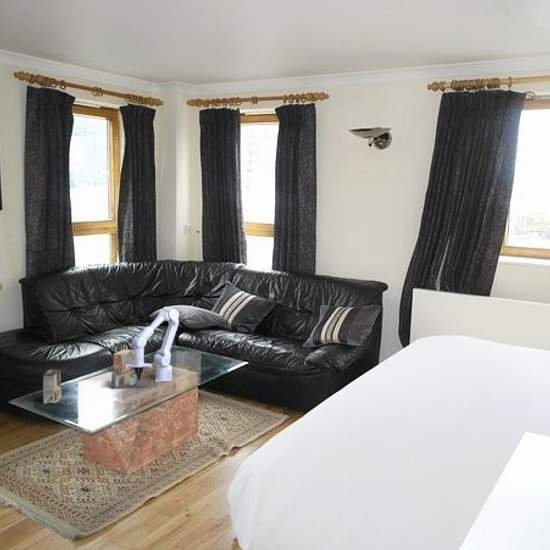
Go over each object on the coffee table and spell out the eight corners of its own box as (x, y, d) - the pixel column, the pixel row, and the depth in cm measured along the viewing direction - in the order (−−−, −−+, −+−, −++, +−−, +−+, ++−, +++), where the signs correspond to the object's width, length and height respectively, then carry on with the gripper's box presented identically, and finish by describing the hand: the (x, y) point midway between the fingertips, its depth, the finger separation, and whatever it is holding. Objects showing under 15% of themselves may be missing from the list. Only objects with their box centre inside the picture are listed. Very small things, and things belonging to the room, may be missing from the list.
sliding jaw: (135, 379, 352) (135, 371, 351) (135, 385, 342) (136, 376, 342) (129, 379, 351) (129, 371, 350) (129, 385, 342) (129, 376, 341)
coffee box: (50, 397, 322) (49, 368, 319) (61, 398, 322) (61, 369, 319) (43, 403, 313) (42, 374, 310) (55, 404, 313) (54, 374, 310)
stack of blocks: (132, 363, 387) (132, 345, 386) (141, 364, 385) (141, 346, 383) (113, 372, 367) (113, 353, 366) (121, 374, 365) (121, 354, 364)
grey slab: (146, 380, 355) (146, 371, 354) (147, 387, 343) (147, 378, 342) (112, 382, 350) (112, 373, 349) (111, 388, 338) (111, 379, 338)
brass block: (129, 381, 350) (129, 373, 349) (129, 384, 343) (129, 377, 343) (124, 381, 349) (124, 373, 349) (124, 385, 343) (124, 377, 342)
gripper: (151, 354, 351) (151, 376, 353) (126, 355, 347) (126, 377, 349) (151, 358, 344) (151, 380, 346) (126, 359, 341) (125, 381, 343)
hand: (138, 379), depth 347 cm, fingers closed
